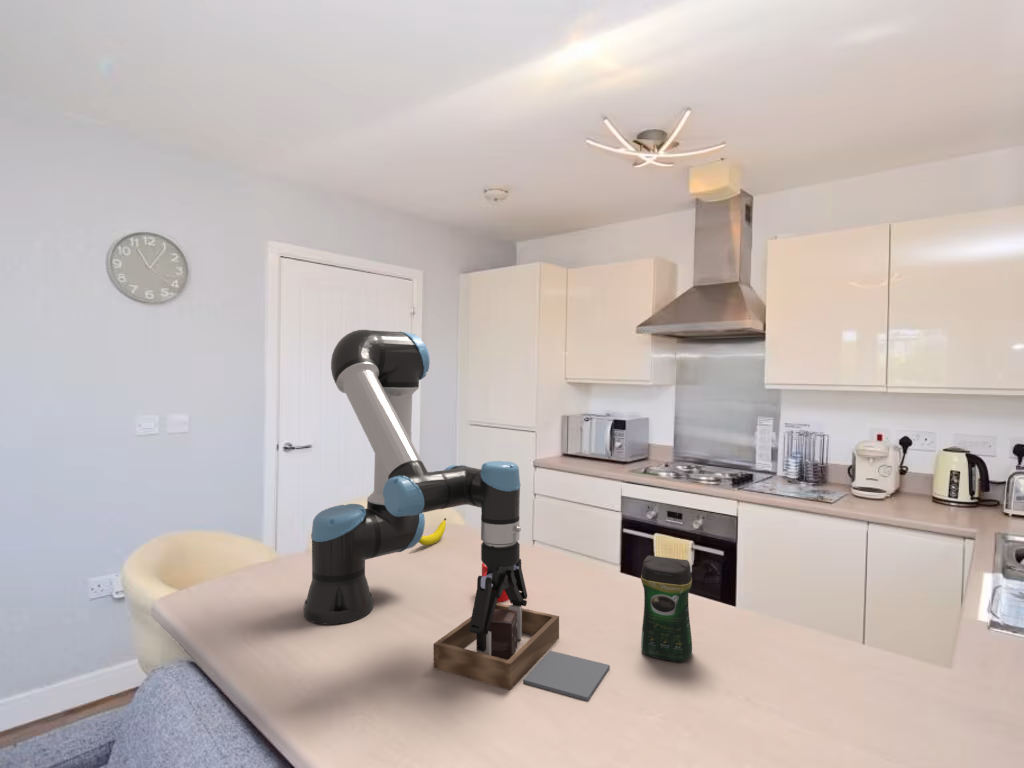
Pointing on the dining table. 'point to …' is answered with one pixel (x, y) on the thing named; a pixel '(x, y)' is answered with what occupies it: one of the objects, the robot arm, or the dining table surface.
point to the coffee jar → (666, 608)
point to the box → (503, 633)
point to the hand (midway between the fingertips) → (500, 651)
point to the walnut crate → (489, 667)
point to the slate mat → (567, 675)
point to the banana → (434, 535)
